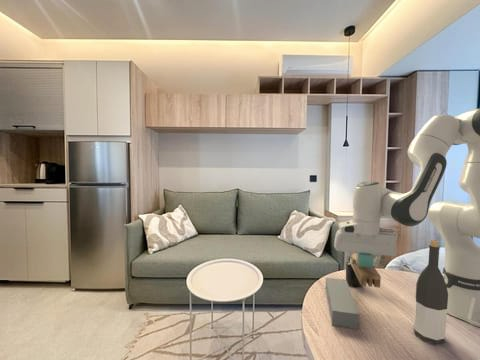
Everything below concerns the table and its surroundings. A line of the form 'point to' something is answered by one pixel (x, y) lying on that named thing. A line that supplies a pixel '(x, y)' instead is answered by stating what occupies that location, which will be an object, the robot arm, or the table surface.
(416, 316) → the wine bottle
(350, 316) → the dock
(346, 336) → the table surface
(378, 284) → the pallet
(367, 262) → the mint green cube
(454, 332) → the table surface
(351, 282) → the supplement bottle
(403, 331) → the table surface
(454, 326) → the table surface
